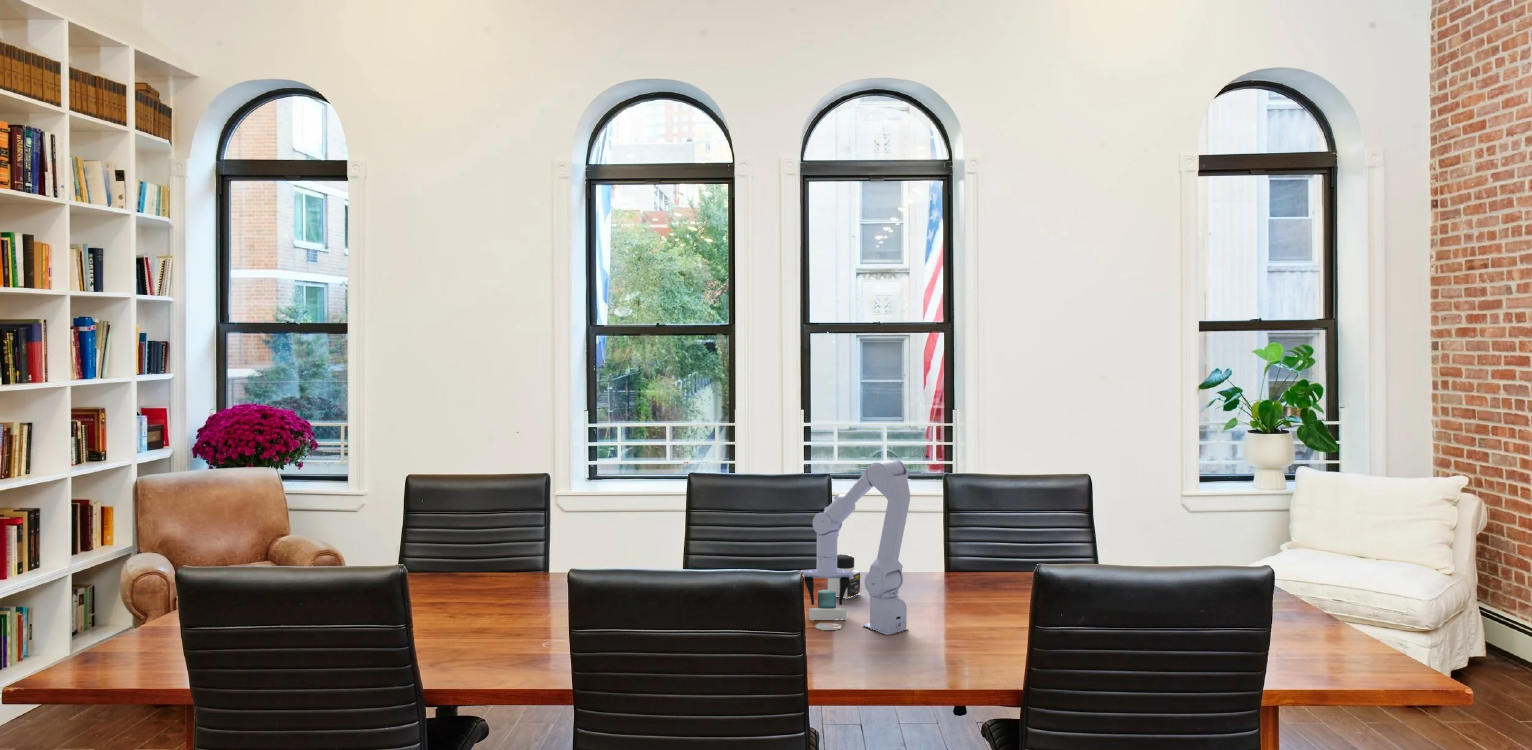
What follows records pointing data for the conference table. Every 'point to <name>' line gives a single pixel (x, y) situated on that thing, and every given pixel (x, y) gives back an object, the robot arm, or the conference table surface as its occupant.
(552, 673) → the conference table surface
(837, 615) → the divider wall
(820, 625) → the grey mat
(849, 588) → the medicine bottle
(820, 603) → the teal cylinder
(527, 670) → the conference table surface
